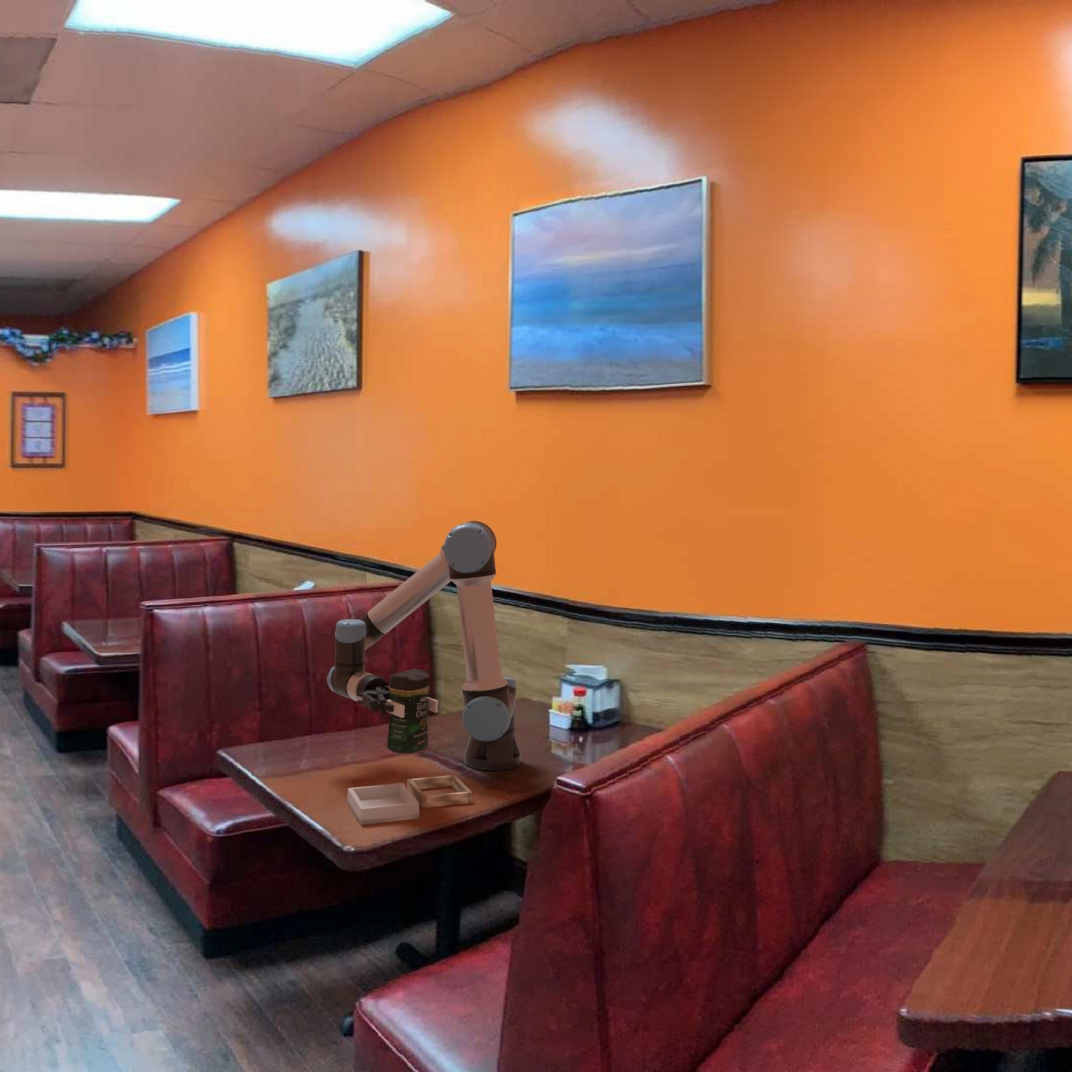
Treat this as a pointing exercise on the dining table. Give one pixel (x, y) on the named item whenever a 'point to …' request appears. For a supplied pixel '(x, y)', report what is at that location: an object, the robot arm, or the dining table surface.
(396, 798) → the parts tray
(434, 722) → the dining table surface
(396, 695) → the coffee jar
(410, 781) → the holder collar
